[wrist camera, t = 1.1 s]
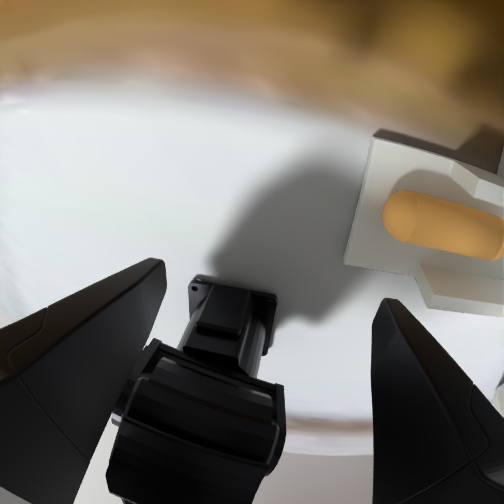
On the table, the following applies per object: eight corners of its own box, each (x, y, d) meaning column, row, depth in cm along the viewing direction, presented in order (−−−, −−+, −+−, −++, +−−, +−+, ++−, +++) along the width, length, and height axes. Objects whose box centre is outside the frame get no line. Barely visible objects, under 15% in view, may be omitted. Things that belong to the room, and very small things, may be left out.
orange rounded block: (488, 249, 16) (505, 272, 14) (372, 223, 17) (381, 247, 15) (502, 212, 15) (523, 232, 12) (384, 178, 16) (396, 196, 13)
